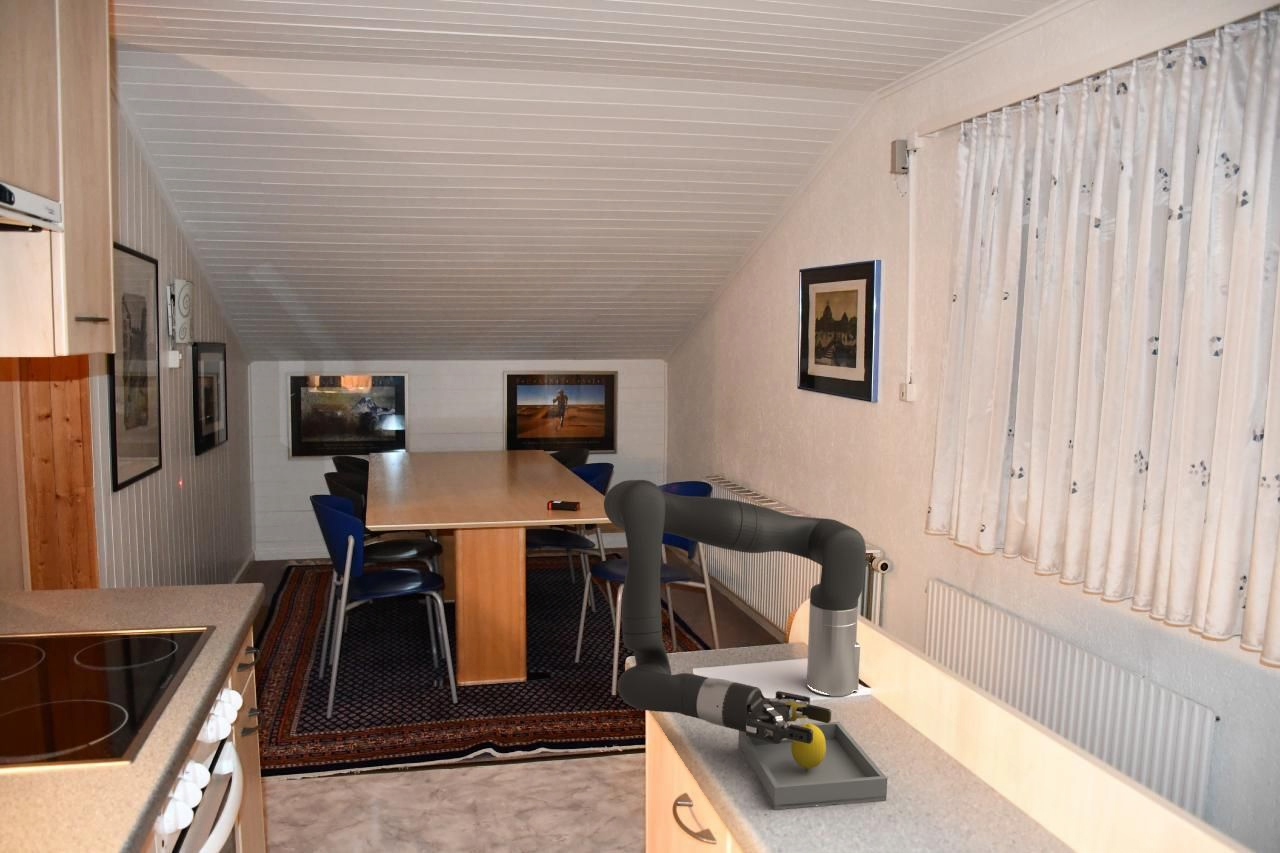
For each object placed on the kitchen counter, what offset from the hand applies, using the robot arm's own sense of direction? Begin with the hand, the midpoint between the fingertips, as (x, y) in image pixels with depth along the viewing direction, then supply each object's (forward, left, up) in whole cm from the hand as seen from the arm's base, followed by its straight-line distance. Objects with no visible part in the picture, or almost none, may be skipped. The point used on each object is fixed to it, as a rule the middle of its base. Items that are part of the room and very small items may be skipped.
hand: (821, 726), depth 158 cm
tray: (+1, -1, -8) cm, 9 cm away
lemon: (+2, -1, -8) cm, 8 cm away
